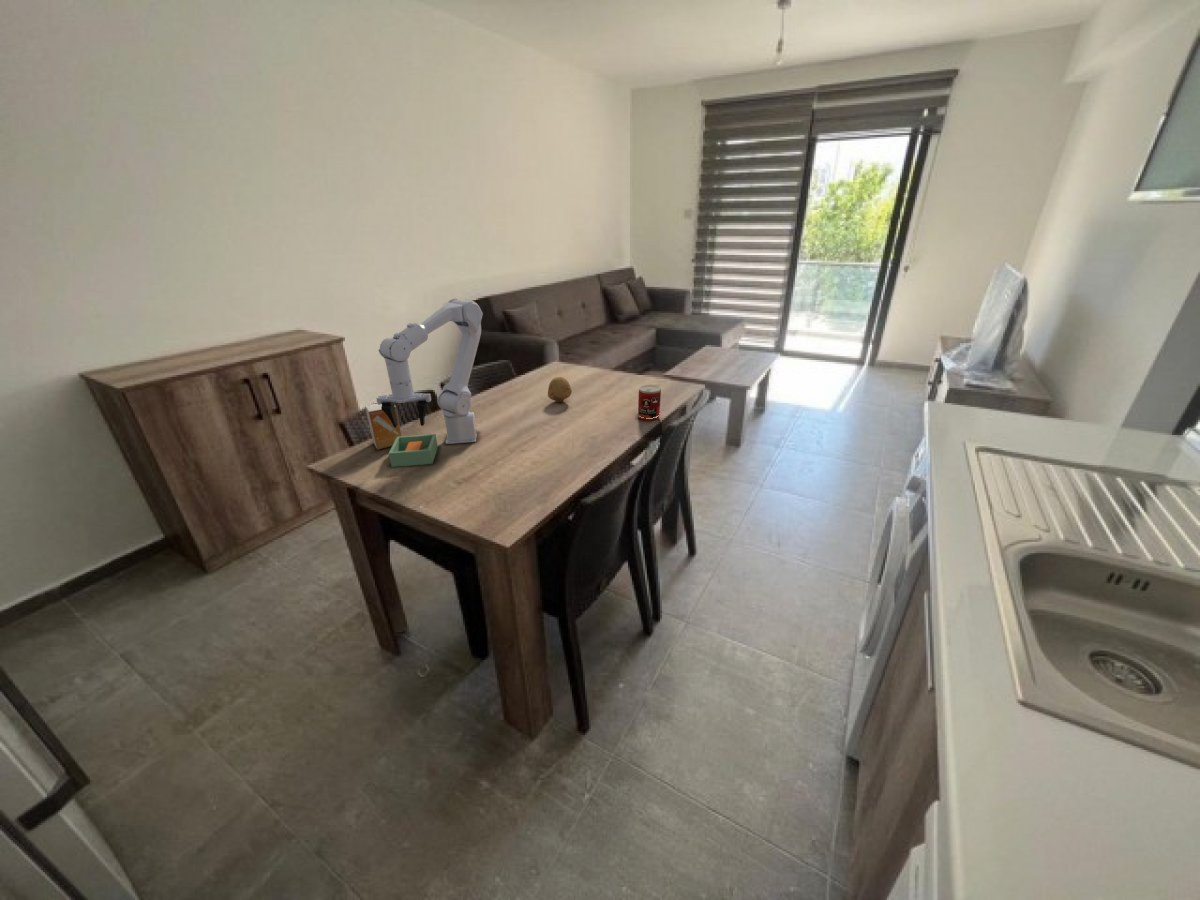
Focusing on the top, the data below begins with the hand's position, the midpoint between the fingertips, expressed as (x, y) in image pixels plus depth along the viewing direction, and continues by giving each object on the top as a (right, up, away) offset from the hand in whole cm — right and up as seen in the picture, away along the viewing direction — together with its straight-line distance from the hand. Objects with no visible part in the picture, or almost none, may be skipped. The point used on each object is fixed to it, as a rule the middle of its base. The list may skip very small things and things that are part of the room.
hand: (409, 425), depth 141 cm
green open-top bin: (0, -9, +5) cm, 10 cm away
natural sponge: (+41, +11, +46) cm, 63 cm away
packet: (0, -9, +4) cm, 10 cm away
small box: (-12, -5, +13) cm, 18 cm away
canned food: (+74, +4, +32) cm, 81 cm away
